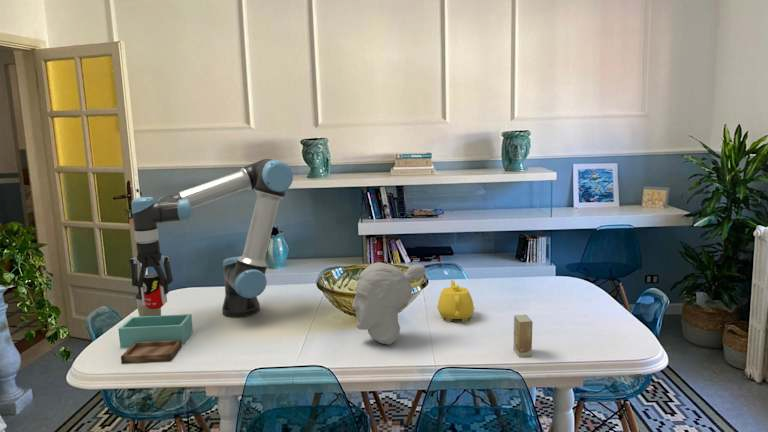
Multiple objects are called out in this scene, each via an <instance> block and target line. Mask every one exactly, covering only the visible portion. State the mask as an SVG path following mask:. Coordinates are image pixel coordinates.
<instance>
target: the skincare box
mask: <svg viewBox="0 0 768 432" xmlns="http://www.w3.org/2000/svg"><path fill="white" fill-rule="evenodd" d="M533 323H534V322H533V320H532V319H531V318H530V317H529V316H528V314H517V315H516V314H515V315H514V316H513V351H514V352H515V354H516V355H517V356H518V357H519V358H527V357H532V354H533V353H532V351H533Z"/></svg>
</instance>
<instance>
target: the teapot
mask: <svg viewBox="0 0 768 432" xmlns="http://www.w3.org/2000/svg"><path fill="white" fill-rule="evenodd" d="M437 309H438V313H439V315H440V316H441V317H442V318H445V322H449V323H450V322H453V320H455V319H456V320H457V319H458V320H461V321H462V322H468V321H469V319H468V318H472V316H473V314H474V311H475V308H474V301H473V298H472V296H471V294H470V292H469V290H468V288H466V287H462V286H460V285H456V282H455V280H454V279H451V280H450V287H445V288H443V289H442V291H441V293H440V295H439V298H438V304H437Z"/></svg>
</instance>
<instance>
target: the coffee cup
mask: <svg viewBox="0 0 768 432" xmlns="http://www.w3.org/2000/svg"><path fill="white" fill-rule="evenodd" d="M137 291H138V292H136V294H135V300H136V306H137V313H138V317H140V316H162V307H161V308H158V309H149V308H147V307H146V305H143V301H142V296H140V295H139V290H137Z"/></svg>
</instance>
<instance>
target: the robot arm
mask: <svg viewBox="0 0 768 432" xmlns="http://www.w3.org/2000/svg"><path fill="white" fill-rule="evenodd" d="M293 180H294V175H293V171H292V168H291V167H290V165H288V163H286V162H284V161H282V160H279V159H272V158H264V159H260V160H258V161H255V162H253V163H251V164H248V165H245V166H244V167H241V168H240V170H239V171H236V172H234V173H231V174H227V175H224V176H222V177H219V178H215V179H213V180H210V181H208V182H205V183H202V184H199V185H195V186H192V187H190V188H188V189H185V190H180V191H179V192H176V193H173V194H171V195H167V194H166V195H163V196H161V197H160V198H159V199H158V200H157V201H155V199H154V197H152V196H142V197H136V198H132V200H131V204H130V205H131V215H132V222H133V229H134V238H135V242H136V244H135V245H136V252H137V254H136V255H137V256H136V257H132V258H130V259H129V260H128V262H129V264H130V267H131V268H130V269H131V285H132V286H133V287H137V289H138V290H137V291H139V295H140V296H142V301H143V305H146V302H145V294H144V287H143V280H144V276H145V275H147V269H148V268H150V267H151V268H153V269H154V270H155V273H157V274H158V276H159V278H160V281H161V283H162V286H161V294H162V302H163V304H164V305H166V303H168V297H167V295H168V294H169V292H170V290H169V285H170V284H172V283H173V281H174V280H173V279H174V278H173V274H172V269H171V265H170V259H171V256H170V255H163V254H162V253H161V247H160V246H161V245H160V241H159V232H158V231H159V230H158V224H163V223H169V222H179V221H181V222H182V221H186V220H190V219H191V217H192V209H194V208H197V207H200V206H202V205H205V204H208V203H211V202H214V201H217V200H220V199H222V198H225V197H227V196H228V197H229V196H230V195H233V194H237V193H239V192H242V191H244V190H249V191H252V190H254V191H255V194H256V201H255V203H254V204H255V205H254V209H253V213H252V216H251V220H250V225H249V228H248V232H247V235H246V236H247V237H246V239H245V243H244V249H243V252H242V255H240V256H239V255H238V256H232V257H227V258H225V259H223V261H222V268H223V278H224V279H223V280H224V291H225V295H224V299H223V304H222V307H221V308H222V309H221V310H222V314H223V316H225V317H230V318H241V317H242V318H244V317H248V316H252V315H254V314H256V313H259V312H260V310H261V305H260V302H259V299H258V296H260V295H261V294H262V293H263V292H264V291H265V290H266V287H267V284H268V283H267V277H266V271H267V268H268V264H267V263H266V260H265V259H266V256H267V251H268V247H269V243H270V240H271V235H272V232H273V228H274V225H275V219H276V217H277V211H278V208H279V205H280V201H282V200H283V199H285V196H286V192H287V190H288V189H289V188H290V187H291V185H292V183H293V182H294V181H293ZM161 261H162V262H163V268H162V266H161V263H160V262H161ZM138 262H139V263H140V264H141V266H140V272H139V273H138ZM163 269H164V271H163ZM164 272H165V273H164ZM138 274H139V275H138Z"/></svg>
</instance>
